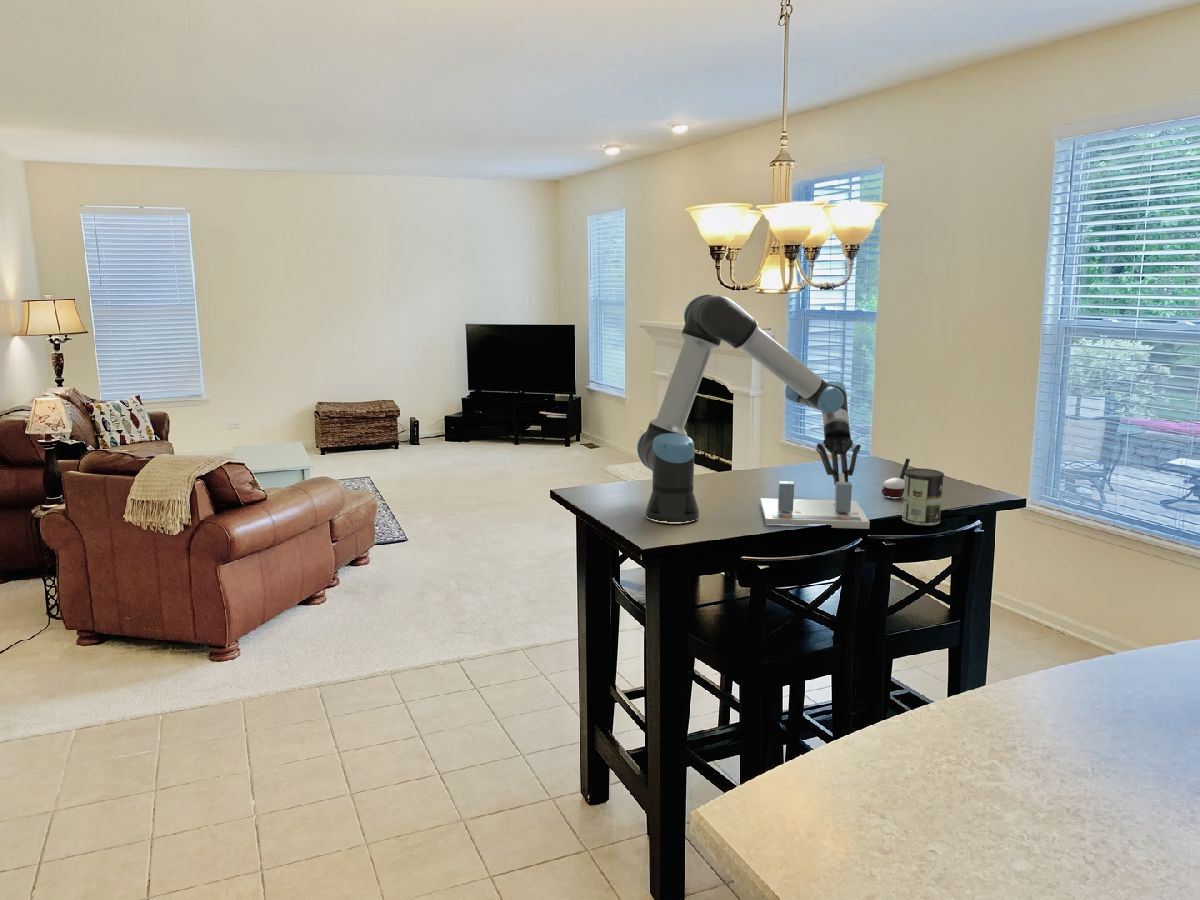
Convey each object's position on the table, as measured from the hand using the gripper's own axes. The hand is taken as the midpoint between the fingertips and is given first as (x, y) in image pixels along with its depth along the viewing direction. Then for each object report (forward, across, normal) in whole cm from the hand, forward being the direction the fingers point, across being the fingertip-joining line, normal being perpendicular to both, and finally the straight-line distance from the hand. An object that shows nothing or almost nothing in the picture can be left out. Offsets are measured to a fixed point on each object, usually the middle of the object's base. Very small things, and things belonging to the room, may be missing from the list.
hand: (842, 494), depth 249 cm
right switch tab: (+5, 0, -1) cm, 5 cm away
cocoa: (-12, -20, -21) cm, 31 cm away
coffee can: (+6, -22, -3) cm, 23 cm away
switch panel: (+5, +8, -4) cm, 11 cm away
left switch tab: (+5, +16, 0) cm, 17 cm away
